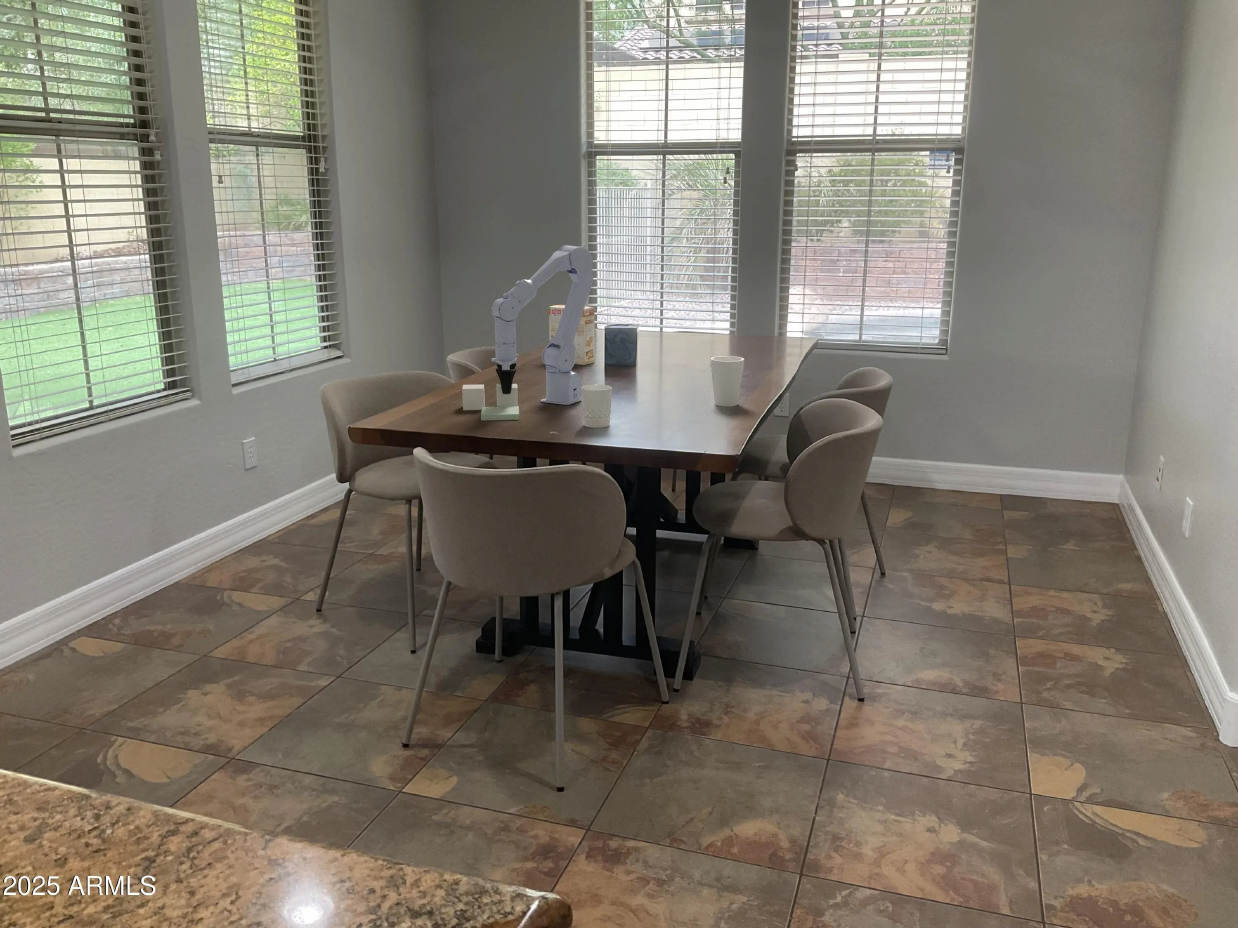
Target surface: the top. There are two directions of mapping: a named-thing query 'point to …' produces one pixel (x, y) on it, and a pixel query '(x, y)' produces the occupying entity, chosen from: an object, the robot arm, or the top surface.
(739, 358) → the foam cup
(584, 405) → the white cup
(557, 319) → the coffeecake box
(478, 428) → the top surface
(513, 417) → the coaster
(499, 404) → the cream matte cube
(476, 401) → the cover
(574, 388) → the robot arm
